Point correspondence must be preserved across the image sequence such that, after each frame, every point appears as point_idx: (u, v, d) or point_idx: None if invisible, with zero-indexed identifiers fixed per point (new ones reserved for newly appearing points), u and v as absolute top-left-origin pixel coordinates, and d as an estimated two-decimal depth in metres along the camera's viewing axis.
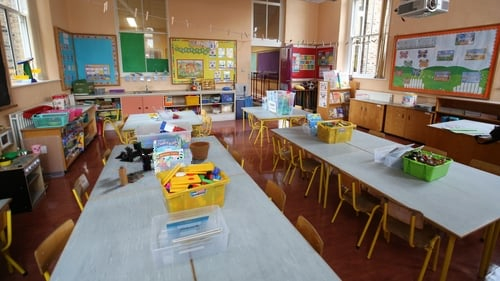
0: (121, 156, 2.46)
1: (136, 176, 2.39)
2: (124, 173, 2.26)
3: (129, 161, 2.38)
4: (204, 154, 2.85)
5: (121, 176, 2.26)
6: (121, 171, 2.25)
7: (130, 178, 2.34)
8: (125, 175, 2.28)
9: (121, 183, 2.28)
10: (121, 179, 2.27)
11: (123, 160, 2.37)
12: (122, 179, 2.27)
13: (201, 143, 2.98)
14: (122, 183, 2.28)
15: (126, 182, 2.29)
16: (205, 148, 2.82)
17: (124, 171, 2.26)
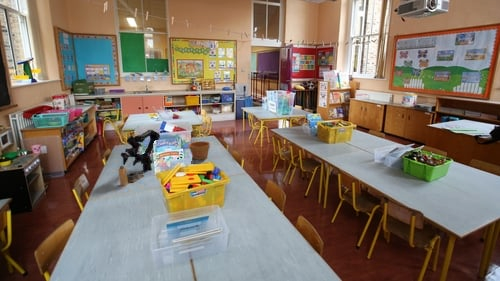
0: (125, 158, 2.38)
1: (136, 176, 2.39)
2: (124, 173, 2.26)
3: (140, 159, 2.37)
4: (204, 154, 2.85)
5: (121, 176, 2.26)
6: (121, 171, 2.25)
7: (130, 178, 2.34)
8: (125, 175, 2.28)
9: (121, 183, 2.28)
10: (121, 179, 2.27)
11: (135, 162, 2.34)
12: (122, 179, 2.27)
13: (201, 143, 2.98)
14: (122, 183, 2.28)
15: (126, 182, 2.29)
16: (205, 148, 2.82)
17: (124, 171, 2.26)
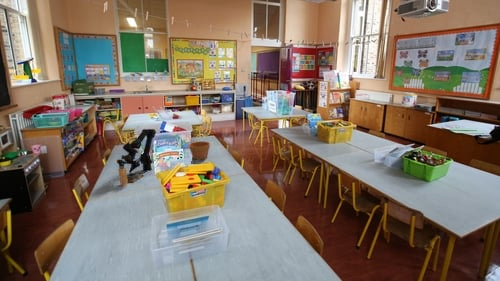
0: (122, 165, 2.33)
1: (136, 176, 2.39)
2: (124, 173, 2.26)
3: (137, 166, 2.32)
4: (204, 154, 2.85)
5: (121, 176, 2.26)
6: (121, 171, 2.25)
7: (130, 178, 2.34)
8: (125, 175, 2.28)
9: (121, 183, 2.28)
10: (121, 179, 2.27)
11: (132, 169, 2.30)
12: (122, 179, 2.27)
13: (201, 143, 2.98)
14: (122, 183, 2.28)
15: (126, 182, 2.29)
16: (205, 148, 2.82)
17: (124, 171, 2.26)
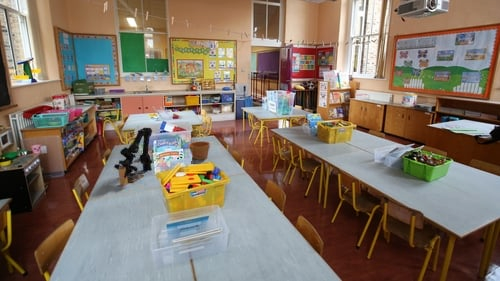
0: None
1: (136, 176, 2.39)
2: (124, 173, 2.26)
3: (132, 171, 2.30)
4: (204, 154, 2.85)
5: (121, 176, 2.26)
6: (121, 171, 2.25)
7: (130, 178, 2.34)
8: None
9: (121, 183, 2.28)
10: (121, 179, 2.27)
11: (127, 174, 2.28)
12: (122, 179, 2.27)
13: (201, 143, 2.98)
14: (122, 183, 2.28)
15: (126, 182, 2.29)
16: (205, 148, 2.82)
17: (124, 171, 2.26)
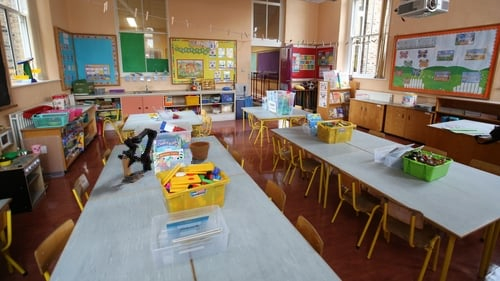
0: None
1: (136, 176, 2.39)
2: (128, 163, 2.30)
3: (135, 161, 2.34)
4: (204, 154, 2.85)
5: (124, 166, 2.30)
6: (125, 161, 2.28)
7: (130, 178, 2.34)
8: None
9: (125, 173, 2.32)
10: (125, 169, 2.30)
11: (130, 164, 2.31)
12: (126, 169, 2.30)
13: (201, 143, 2.98)
14: (126, 173, 2.31)
15: (130, 172, 2.33)
16: (205, 148, 2.82)
17: (127, 161, 2.30)
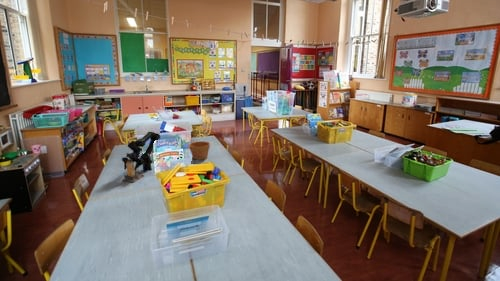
0: None
1: (136, 176, 2.39)
2: (132, 167, 2.35)
3: (141, 164, 2.38)
4: (204, 154, 2.85)
5: (128, 170, 2.35)
6: (129, 165, 2.34)
7: (130, 178, 2.34)
8: (132, 169, 2.37)
9: None
10: (129, 173, 2.36)
11: (136, 167, 2.36)
12: (130, 173, 2.36)
13: (201, 143, 2.98)
14: None
15: None
16: (205, 148, 2.82)
17: (132, 165, 2.35)
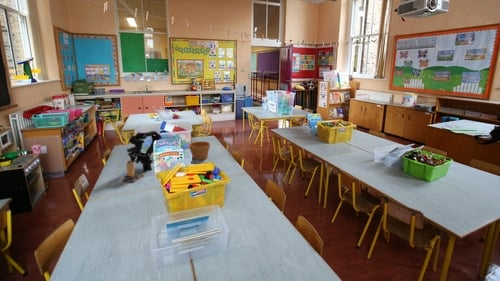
0: (133, 157, 2.47)
1: (136, 176, 2.39)
2: (132, 167, 2.35)
3: (142, 156, 2.40)
4: (204, 154, 2.85)
5: (128, 170, 2.35)
6: (129, 165, 2.34)
7: (130, 178, 2.34)
8: (132, 169, 2.37)
9: None
10: (129, 173, 2.36)
11: (138, 160, 2.39)
12: (130, 173, 2.36)
13: (201, 143, 2.98)
14: None
15: None
16: (205, 148, 2.82)
17: (132, 165, 2.35)
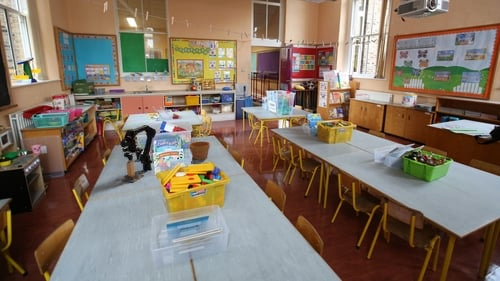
0: (137, 153, 2.47)
1: (136, 176, 2.39)
2: (132, 167, 2.35)
3: (129, 157, 2.35)
4: (204, 154, 2.85)
5: (128, 170, 2.35)
6: (129, 165, 2.34)
7: (130, 178, 2.34)
8: (132, 169, 2.37)
9: None
10: (129, 173, 2.36)
11: None
12: (130, 173, 2.36)
13: (201, 143, 2.98)
14: None
15: None
16: (205, 148, 2.82)
17: (132, 165, 2.35)
